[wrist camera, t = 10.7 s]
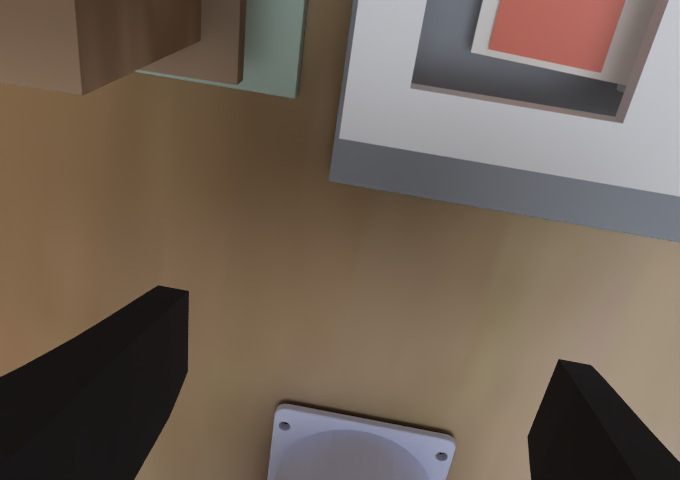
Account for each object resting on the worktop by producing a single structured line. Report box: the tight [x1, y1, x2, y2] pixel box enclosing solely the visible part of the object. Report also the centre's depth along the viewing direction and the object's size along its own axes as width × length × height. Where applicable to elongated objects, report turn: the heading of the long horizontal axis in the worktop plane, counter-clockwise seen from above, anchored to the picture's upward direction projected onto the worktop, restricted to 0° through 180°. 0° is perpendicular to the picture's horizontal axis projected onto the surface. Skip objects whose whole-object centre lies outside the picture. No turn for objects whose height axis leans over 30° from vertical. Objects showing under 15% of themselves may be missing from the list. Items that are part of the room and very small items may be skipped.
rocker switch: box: [471, 0, 658, 93], centre depth 15 cm, size 4×9×1 cm, turn 82°
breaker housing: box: [329, 0, 680, 242], centre depth 15 cm, size 14×16×5 cm
